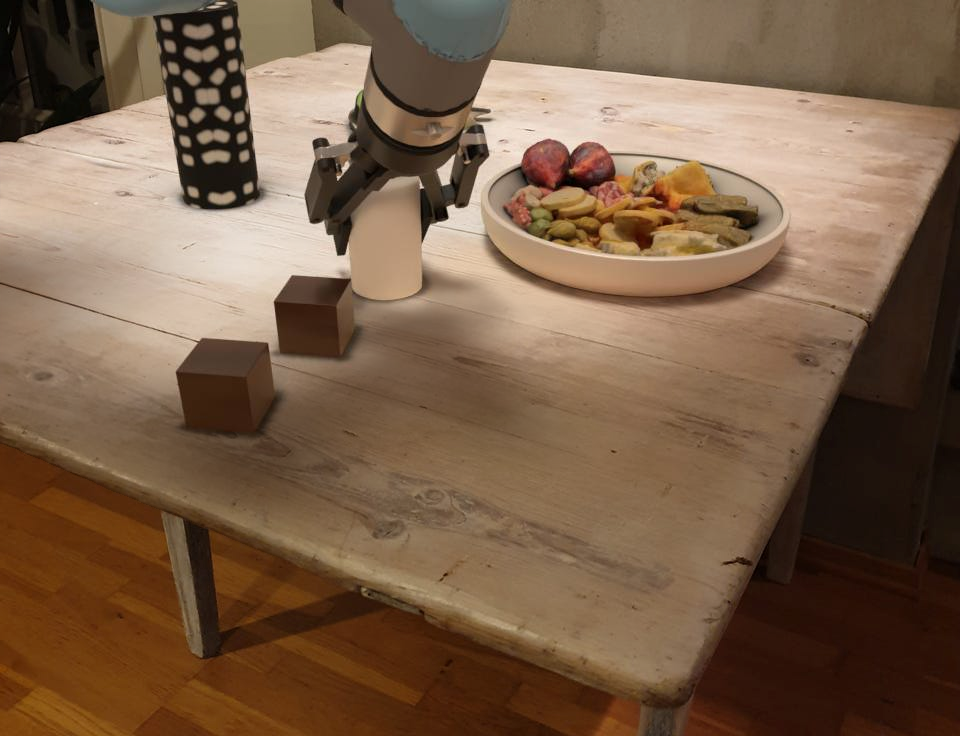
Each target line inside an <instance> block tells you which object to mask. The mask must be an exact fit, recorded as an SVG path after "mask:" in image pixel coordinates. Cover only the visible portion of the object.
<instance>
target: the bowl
mask: <svg viewBox="0 0 960 736" xmlns="http://www.w3.org/2000/svg"><path fill="white" fill-rule="evenodd" d="M791 212H792V211H791V208H790V205H789V204H788V202H787V200H786V199H785V198H784V197H783V196H782V195H781V194H780V192H778V191H777V190H776V189H774V188H773V187H772V186H770V185H768V184H767V183H765V182H763V181H762V180H760V179H757V178H756V177H754V176H752V175H749V174H747V173H745V172H743V171H739V170H737V169H734V168H730V167H728V166H724V165H721V164H717V163H715V162H710V161H705V160H701V159H696V158H692V157H685V156H680V155H673V154H665V153H657V152H648V151H647V152H646V151H630V150H608V149H606V147H604V145H602V144H601V143H599V142H595V141H585V142H582V143H581V144H579V145H577V147H575V148H574V149H573V150H572V152H570V151H569V149H568V147H567V146H566V145H565V144H564V143H562V142H561V141H559V140H556V139H552V138H546V139H543V140H540V141H537V142H536V143H534V144H532V145H531V146H529V147H528V148H526V149H525V151H524V153H523V154H522V159H521V161H520V162H519V163H517V164H514V165H512V166H509V167H508V168H505V169H503V170H502V171H499V172H497V174H495V175H494V176H492V177H491V178H490V179H489V180H488V181H487V182H486V184H485V185H484V186H483V188H482V190H481V194H480V214H481V219H482V222H483V226H484V229H485V231H486V233H487V235H488V237H489V238H490V240H491V242H492V243H493V244H494V245H495V247H497V249H498V250H499V251H500V252H501V253H502V254H503V255H504V256H505V257H506V258H507V259H509V260H510V261H511V262H513V263H515V264H516V265H517V266H519V267H520V268H523V269H524V270H526V271H528V272H530V273H531V274H534V275H535V276H538V277H540V278H542V279H545V280H548V281H551V282H553V283H557V284H559V285H563V286H567V287H570V288H574V289H578V290H582V291H586V292H593V293H597V294H598V293H599V294H606V295H614V296H623V297H643V298H645V297H647V298H648V297H649V298H650V297H653V298H657V297H677V296H686V295H694V294H699V293H704V292H709V291H713V290H717V289H721V288H724V287H727V286H730V285H733V284H735V283H738V282H740V281H743V280H744V279H746V278H748V277H750V276H752V275H754V274H755V273H756V272H758V271H760V270H761V269H762V268H764V267H765V266H766V265H767V264H768V263H769V262H770V261H772V259H774V257H775V256H776V254H777V253H778V252H779V251H780V249H781V247H782V246H783V244H784V242H785V240H786V237H787V235H788V231H789V228H790V224H791V223H790V222H791V218H792V214H791Z"/></svg>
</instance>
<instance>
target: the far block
mask: <svg viewBox="0 0 960 736" xmlns="http://www.w3.org/2000/svg"><path fill="white" fill-rule="evenodd" d="M273 308H274V314H275V315H274V317H275V324H276V333H277V341H278V347H279V348H278V349H279V350H278V351H279V354H282V355H283V354H286V355H299V356H312V357H326V358H337V359H338V358H339V359H340V358H342V355H343V353H344V351H345V350H346V347H347V346H348V344H349V342H350V340H351V337H352V336H353V333H354V332H355V329H356V324H355V311H354V310H355V309H354V297H353V288H352V281H351V278H345V277H344V278H343V277H329V276H311V275H298V274H296V275H295V274H291V276H290V277H289V278H288V280H287V281H286V283H285V284H284V286H283V287H282V289H280V291H279V293H278V294H277V296H276V298H274V300H273Z"/></svg>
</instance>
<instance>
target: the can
mask: <svg viewBox="0 0 960 736" xmlns="http://www.w3.org/2000/svg"><path fill="white" fill-rule="evenodd" d="M347 162H348V167H347V169H348V168H349V167H350V165H351V164H352V163H353V161H352V160H348V161H347ZM420 189H421V181H420V178H419V176H414V177H396V178H394V179H390V180H389V181H388V182H387V183H386V184H385V185H384V186H383V187H382V188H381V189H380V190H379V191H372V192H371V193H370V194H369V195H368V196H367V197H366V198H365V200H364V201H363V202H362V203H361V204H360V205H359V206H358V207H357V208H356V209H355V210H354V211H353V213H352V214H351V215H350V217H351V222H352V228H351V232H350V236H349V241H348V253H349V254H348V255H349V269H350V279H351V281H352V291H353V292H354V293H355V294H357V295H358V296H361V297H363V298H365V299H371V300H375V301H394V300H400V299H404V298H408V297H412V296H414V295H415V294H417V293H418V292H419V291H420V290H421V289H422V287H423V248H422V245H423V243H421V204H420Z"/></svg>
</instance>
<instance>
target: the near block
mask: <svg viewBox="0 0 960 736" xmlns="http://www.w3.org/2000/svg"><path fill="white" fill-rule="evenodd" d="M269 346H270V345H269V342H267V341H252V340H239V339H227V338H226V339H224V338H210V337H201V339H200V340H199V341H198V342H197V344H196V345H194V347H193V348H192V350H191V351H190V352H189V353H188V355H187V356H186V357H185V358H184V360H183V361H182V363H181V364H180V365H179V366H178V368H177V369H176V370H175V375H176V376H175V377H176V381H177V387H178V392H179V396H180V402H181V408H182V413H183V418H184V423H185V427H186V429H198V430H209V431H223V432H233V433H234V432H235V433H246V434H247V433H248V434H255V433H256V431H257V430H258V428H259V426H260V424H261V423H262V421H263V419H264V417H265V415H266V414H267V412H268V410H269V409H270V407H271V405H272V404H273V402H274V401H275V399H276V392H275V385H274V375H273V369H272V362H271V354H270V353H271V352H270V347H269Z"/></svg>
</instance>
